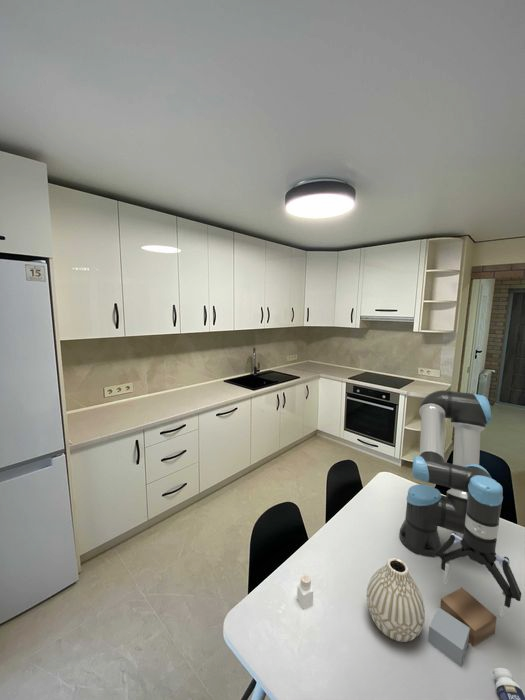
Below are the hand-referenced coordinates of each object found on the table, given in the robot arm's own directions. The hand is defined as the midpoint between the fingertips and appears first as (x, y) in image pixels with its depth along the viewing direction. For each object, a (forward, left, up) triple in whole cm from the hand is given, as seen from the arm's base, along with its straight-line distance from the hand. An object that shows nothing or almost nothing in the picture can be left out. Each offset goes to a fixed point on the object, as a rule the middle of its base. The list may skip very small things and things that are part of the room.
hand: (472, 595), depth 86 cm
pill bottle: (+14, -18, -10) cm, 25 cm away
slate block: (-3, -10, -11) cm, 15 cm away
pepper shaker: (-38, -31, -11) cm, 50 cm away
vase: (-16, -16, -11) cm, 25 cm away
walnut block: (-1, 0, -11) cm, 11 cm away
